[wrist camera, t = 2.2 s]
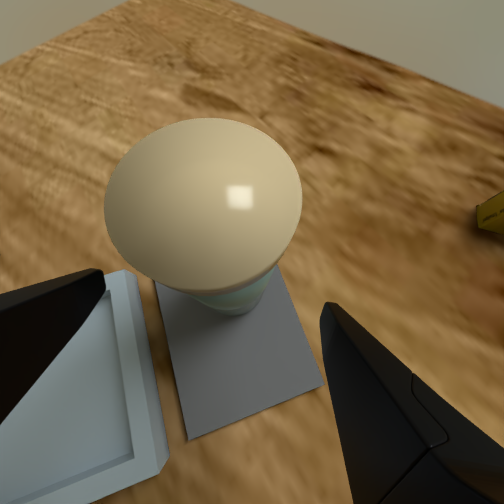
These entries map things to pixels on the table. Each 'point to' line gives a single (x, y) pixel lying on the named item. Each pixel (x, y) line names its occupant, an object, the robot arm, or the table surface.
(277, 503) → the table surface
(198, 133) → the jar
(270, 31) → the table surface
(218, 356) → the mat
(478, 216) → the medication box
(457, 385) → the table surface
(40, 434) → the dish
